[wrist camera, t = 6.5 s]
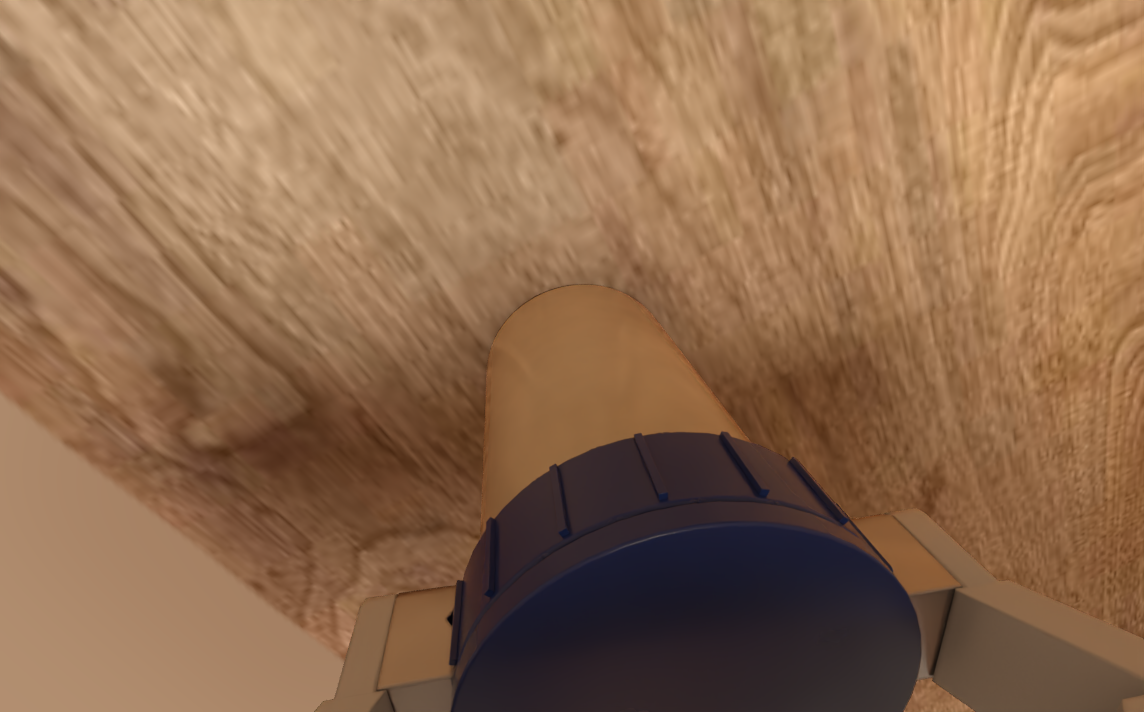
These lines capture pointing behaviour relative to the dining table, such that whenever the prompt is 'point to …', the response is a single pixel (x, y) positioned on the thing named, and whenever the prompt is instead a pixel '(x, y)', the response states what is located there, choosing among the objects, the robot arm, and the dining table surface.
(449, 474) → the dining table surface
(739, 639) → the lid
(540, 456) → the jar
